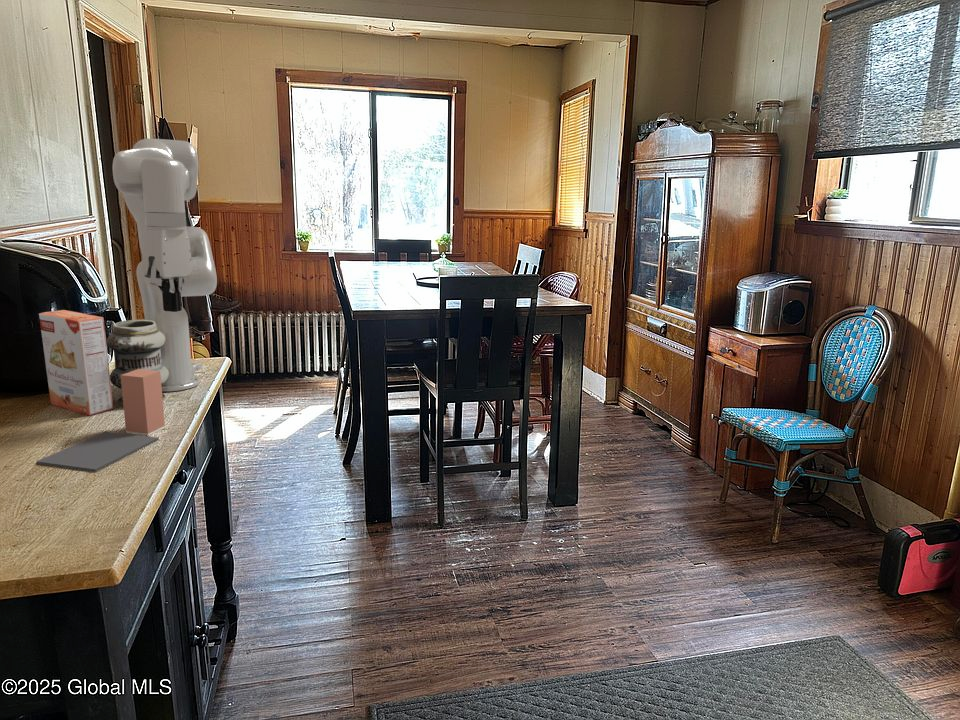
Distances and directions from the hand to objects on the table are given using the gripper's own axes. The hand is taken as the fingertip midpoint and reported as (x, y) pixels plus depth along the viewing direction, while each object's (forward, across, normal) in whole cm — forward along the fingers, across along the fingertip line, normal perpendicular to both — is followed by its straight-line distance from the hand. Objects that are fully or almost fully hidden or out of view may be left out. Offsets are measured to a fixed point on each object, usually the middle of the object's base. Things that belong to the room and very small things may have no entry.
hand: (172, 310), depth 138 cm
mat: (+23, +23, 0) cm, 32 cm away
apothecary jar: (+23, -6, -15) cm, 28 cm away
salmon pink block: (+23, +11, 0) cm, 25 cm away
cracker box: (+23, +3, -23) cm, 32 cm away
